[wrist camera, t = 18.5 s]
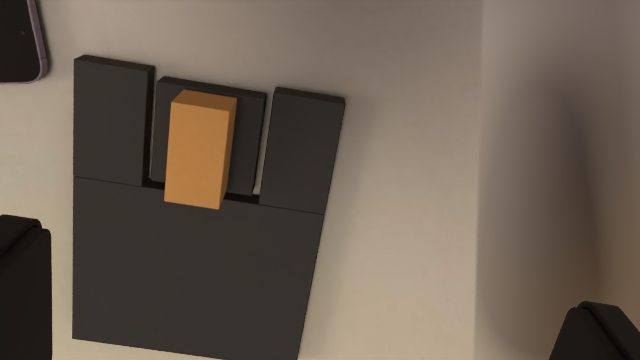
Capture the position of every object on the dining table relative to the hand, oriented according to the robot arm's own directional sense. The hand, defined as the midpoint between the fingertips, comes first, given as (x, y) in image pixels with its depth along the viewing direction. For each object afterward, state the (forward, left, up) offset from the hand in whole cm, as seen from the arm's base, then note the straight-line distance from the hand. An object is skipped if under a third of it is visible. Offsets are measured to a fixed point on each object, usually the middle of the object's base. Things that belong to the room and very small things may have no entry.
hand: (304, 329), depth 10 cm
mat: (+12, -6, -26) cm, 30 cm away
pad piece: (+6, -6, -26) cm, 28 cm away
